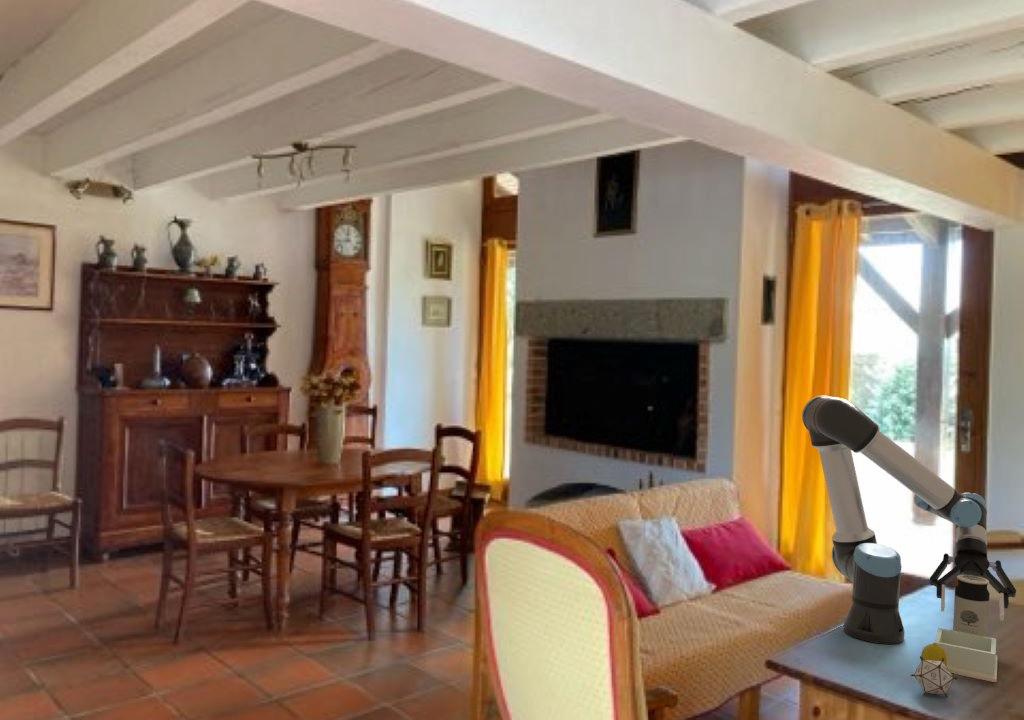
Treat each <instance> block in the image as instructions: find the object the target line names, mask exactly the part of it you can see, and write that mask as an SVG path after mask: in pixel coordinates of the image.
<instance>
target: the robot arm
mask: <svg viewBox="0 0 1024 720" xmlns="http://www.w3.org/2000/svg"><path fill="white" fill-rule="evenodd" d="M801 420H802V423H803V425H804V427H805V429H806V430H807V431H808V434H809V437H810V442H811V447H813V448H815V449H816V450H817V451H818V453H819V458H820V462H821V467H822V472H823V477H824V482H825V485H826V489H827V490H826V491H827V495H828V501H829V505H830V509H831V514H832V518H833V523H834V527H835V532H834V533H833V534H832V535H831V536H832V537H831V539H832V545H833V546H832V549H831V558H832V562H833V564H834V567H835V568H836V570H837V571H838V572H839V574H841V575H843V577H846V578H847V579H848V580H849V581H850V582H851V583H852V592H851V593H852V595H851V604H850V606H849V609H848V611H847V613H846V615H845V618H844V621H843V631H844V633H845V634H847V635H849V636H850V637H852V638H855V639H858V640H860V639H861V641H864V640H865V642H868V641H869V643H872V644H873V643H875V644H880V645H881V644H883V645H884V644H885V645H892V644H894V645H895V644H900V643H902V642H904V641H905V628H904V624H903V620H902V618H901V614H900V611H899V610H900V609H899V608H900V607H899V606H900V604H899V603H900V589H901V588H900V587H901V576H902V575H901V572H902V568H903V567H902V563H901V562H902V561H901V559H902V558H901V555H900V554H899V553H898V551H897V550H895V549H893V548H892V547H890V546H885V545H884V544H881V543H880V544H879V543H877V537H876V533H875V531H874V530H873V529H871V528H870V527H869V526H868V523H867V519H866V514H865V509H864V504H863V501H862V494H861V490H860V486H859V482H858V475H857V472H856V467H855V463H854V457H853V453H852V452H854V453H855V454H856V453H861V454H862V455H863V456H865V457H866V458H867V459H869V460H870V461H872V462H873V463H874V464H876V466H878V467H879V468H880V469H882V470H883V471H885V473H886V474H888V475H889V476H891V477H892V478H893V479H895V480H897V482H899V483H900V484H901V485H903V486H904V487H905V488H906V489H908V490H909V491H910V492H912V493H913V494H914V496H913V502H914V505H915V506H916V507H917V508H920V509H921V510H923V511H925V512H929V513H930V514H933V515H935V516H937V517H939V518H941V519H943V520H945V521H948V522H951V523H953V524H954V525H955V527H956V528H955V531H956V533H955V535H956V537H955V540H956V541H955V542H956V544H955V545H956V546H955V556H950V554H948V553H943V558H942V561H941V562H940V563H939V565H938V566H937V567H936V569H935V570H934V572H933V573H932V574H931V575H930V577H929V585H930V586H934V587H935V588H936V596H935V597H936V599H940V612H945V607H946V606H945V605H946V604H945V603H946V585H947V584H948V583H950V582H951V581H952V580H954V579H956V578H957V576H958V575H962V574H963V575H973V576H979V577H982V578H985V579H987V580H988V581H989V583H988V585H990V586H991V587H992V588H993V589H994V590H995V591H996V592H997V593H998V594H999V597H998V598H999V599H998V601H999V603H998V604H999V606H998V607H999V621H1004V618H1005V609H1008V608H1009V605H1010V604H1009V599H1010V598H1015V597H1016V593H1017V590H1016V588H1015V586H1014V585H1013V583H1012V581H1011V580H1010V578H1009V577H1008V575H1007V574H1006V572H1005V570H1004V569H1003V567H1002V562H1001V560H999V559H998V560H995V561H990V560H989V559H988V536H987V535H988V532H987V526H988V525H987V515H988V511H987V510H988V509H987V503H986V500H985V499H984V498H983V496H981V495H980V494H978V493H975V492H974V493H971V492H963V493H961V492H959V491H958V490H957V489H955V488H954V487H953V486H951V485H950V484H949V483H948V482H946V481H945V480H944V479H942V478H941V477H940V476H939V475H937V474H936V473H935V472H934V471H932V470H931V469H930V468H928V467H927V466H925V464H923V463H921V461H919V460H918V459H916V458H915V457H914V456H913V455H912V454H910V453H909V452H908V451H906V450H905V449H903V448H902V446H899V445H898V444H897V443H896V442H895V441H893V440H892V439H891V438H889V437H888V436H887V435H885V434H884V433H883V432H882V431H880V425H879V424H877V422H875V421H873V419H871V418H870V417H869V416H867V414H865V413H864V411H862V410H861V409H859V408H858V407H857V406H856V405H855V404H853V403H852V402H851V401H849V400H848V399H845V398H841V397H836V396H834V395H830V394H829V395H828V394H825V395H817V396H815V397H813V398H811V399H809V400H808V401H807V402H806V404H805V405H804V407H803V409H802V413H801ZM952 563H954V565H955V567H953V568H952V569H951V570H950V571H948V572H947V573H945V574H944V575H943V576H942V574H943V573H944V572H945V570H946V569H947V567H948V566H949V565H951V564H952ZM989 568H991V569H992V571H994V572H995V573H996V576H997V577H998V579H999V580H1000V581H999V580H998V579H997V578H996V577H995V576H994V575H993V574H992V573H991V571H990V570H989ZM941 576H942V577H941Z"/></svg>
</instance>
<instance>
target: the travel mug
mask: <svg viewBox="0 0 1024 720" xmlns="http://www.w3.org/2000/svg"><path fill="white" fill-rule="evenodd" d="M956 579H957V584H956V586H955V588H954V601H953V602H954V603H953V620H952V623H953V624H952V630H953V631H958V632H964V633H969V634H974V635H980V636H985V637H988V631H989V630H988V627H989V612H990V611H989V609H990V596H991V595H990V591H989V589H988V585H989V581H988V580H987V579H985V578H982V577H981V576H980V575H979V576H973V575H965V574H960V575H958V576H956Z"/></svg>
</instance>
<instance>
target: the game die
mask: <svg viewBox="0 0 1024 720" xmlns="http://www.w3.org/2000/svg"><path fill="white" fill-rule="evenodd" d="M919 657H920V658H919V659H920V663H919V665H918V667H917V668H916V671H915V673H912V674H910V676H911V677H914V678H915V680H916V681H917V682H918V684H919V685H920V687H921V689H922V690H923V693H922V696H923V697H924V696H926V695H927V694H933V695H944V697H946V698H947V699H948V698H949V696H948V694H947V692H948V691H949V689H950V687H951V685H952V683H953V682H954V680H958V679H959V678H958V677H956V676H954V675H953V673H950V671H949V670H948V668H947V667H946V665H945V664H944V662H943V661H944V658H942V661H937V660H924V659H923V658H922V657H921V655H920V656H919ZM921 660H922V661H921Z"/></svg>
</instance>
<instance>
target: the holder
mask: <svg viewBox="0 0 1024 720" xmlns="http://www.w3.org/2000/svg"><path fill="white" fill-rule="evenodd" d="M934 643H936V644H937V645H939V646H940V647H941V648H942V649H943V650H944V651H945V653H946V657H947V665H946V667H947V668H948V670H949V671H950V673H951V674H953V673H954V675H957V676H958V675H959V676H963V677H967V678H974V679H978V680H983V681H988V682H992V683H997V681H998V680H997V679H998V677H997V676H998V655H996V653H997V652H996V651H997V650H996V649H997V638H996V637H995V638H994V637H990V636H987V637H985V636H980V635H974V634H969V633H964V632H958V631H953V629H948V628H943V627H941V628H940V627H938V629H937V633H936V636H935V639H934Z"/></svg>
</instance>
